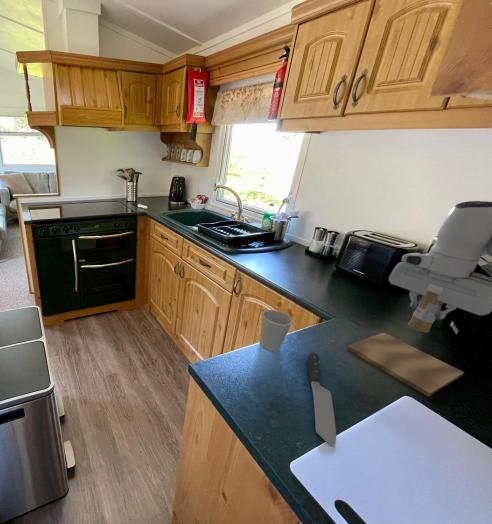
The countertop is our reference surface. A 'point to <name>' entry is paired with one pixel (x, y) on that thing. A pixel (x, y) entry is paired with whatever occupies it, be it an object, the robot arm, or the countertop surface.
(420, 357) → the maple board
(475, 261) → the robot arm
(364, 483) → the countertop surface
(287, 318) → the dixie cup
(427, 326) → the sprinkles bottle
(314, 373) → the kitchen knife
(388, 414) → the countertop surface
